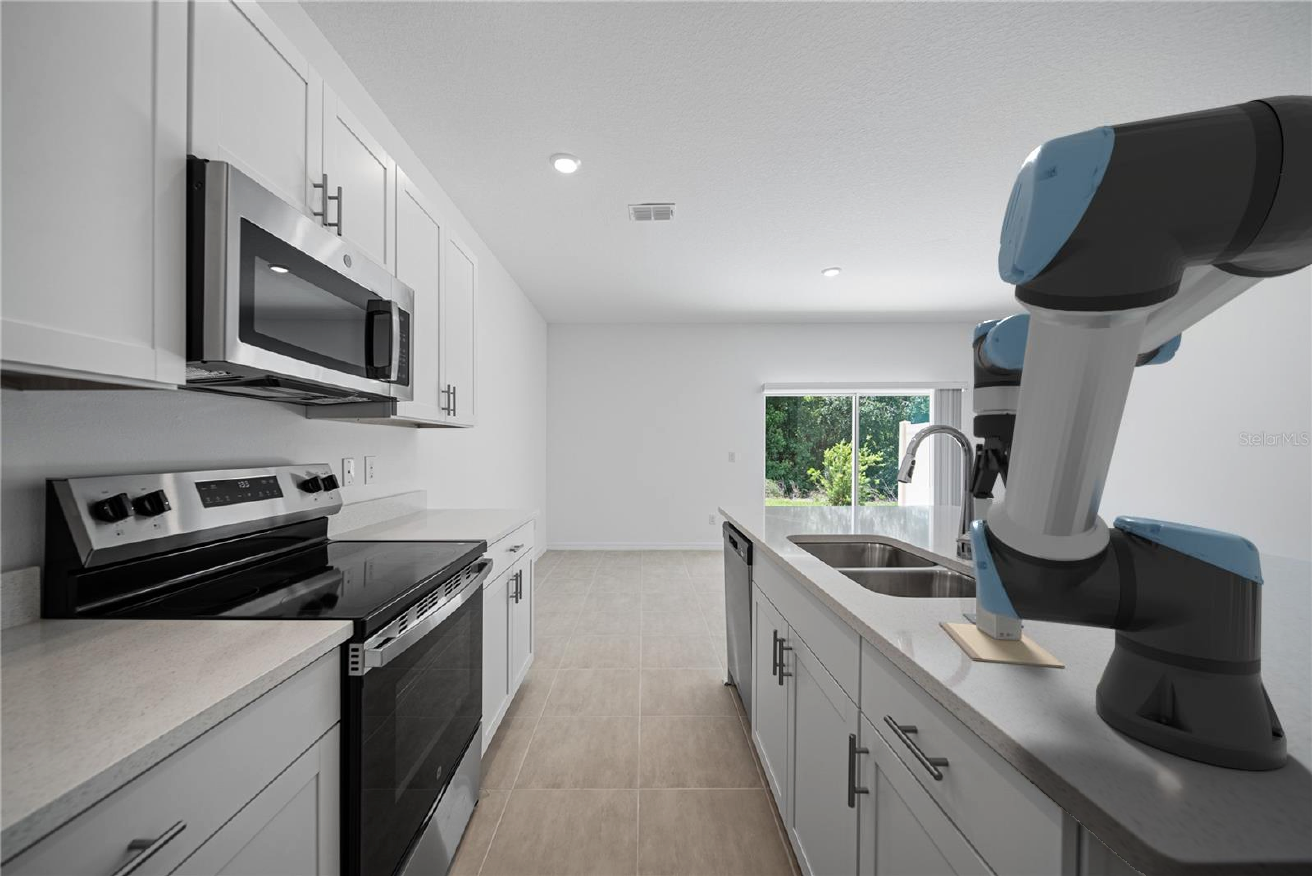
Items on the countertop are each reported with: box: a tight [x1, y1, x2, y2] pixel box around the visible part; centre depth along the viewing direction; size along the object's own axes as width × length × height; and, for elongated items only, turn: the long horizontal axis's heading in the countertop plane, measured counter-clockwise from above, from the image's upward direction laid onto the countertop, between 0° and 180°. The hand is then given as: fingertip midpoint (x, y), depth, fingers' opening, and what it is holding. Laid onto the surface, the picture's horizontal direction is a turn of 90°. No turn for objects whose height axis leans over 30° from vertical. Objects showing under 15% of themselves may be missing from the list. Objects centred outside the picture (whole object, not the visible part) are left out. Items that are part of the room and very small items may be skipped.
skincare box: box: [975, 586, 1023, 640], centre depth 89 cm, size 6×4×12 cm
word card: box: [962, 612, 1024, 628], centre depth 96 cm, size 5×8×1 cm, turn 78°
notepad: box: [938, 621, 1066, 668], centre depth 85 cm, size 16×12×1 cm
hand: (999, 541), depth 89 cm, fingers open, 13 cm apart
